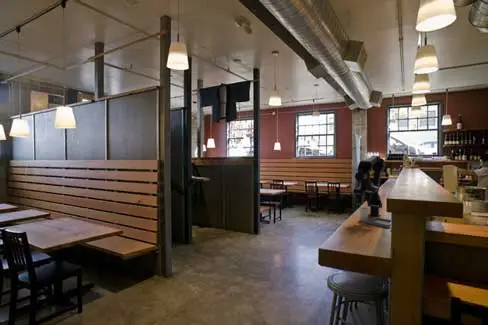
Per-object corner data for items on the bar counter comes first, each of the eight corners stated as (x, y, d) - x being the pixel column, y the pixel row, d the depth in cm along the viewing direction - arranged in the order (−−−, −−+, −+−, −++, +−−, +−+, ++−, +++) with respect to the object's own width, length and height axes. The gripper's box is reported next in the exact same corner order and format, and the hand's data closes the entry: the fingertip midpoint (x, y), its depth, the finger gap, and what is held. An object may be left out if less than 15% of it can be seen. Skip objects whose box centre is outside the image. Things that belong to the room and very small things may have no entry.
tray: (376, 220, 208) (376, 217, 208) (399, 224, 197) (400, 221, 197) (365, 223, 198) (365, 220, 198) (388, 228, 187) (388, 225, 187)
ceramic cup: (362, 219, 211) (362, 207, 210) (369, 220, 207) (369, 208, 206) (358, 220, 207) (358, 208, 207) (365, 221, 204) (365, 209, 203)
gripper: (369, 181, 194) (368, 207, 194) (384, 180, 206) (383, 203, 206) (353, 180, 202) (352, 204, 203) (368, 178, 214) (367, 201, 215)
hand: (364, 203), depth 207 cm, fingers open, 9 cm apart
